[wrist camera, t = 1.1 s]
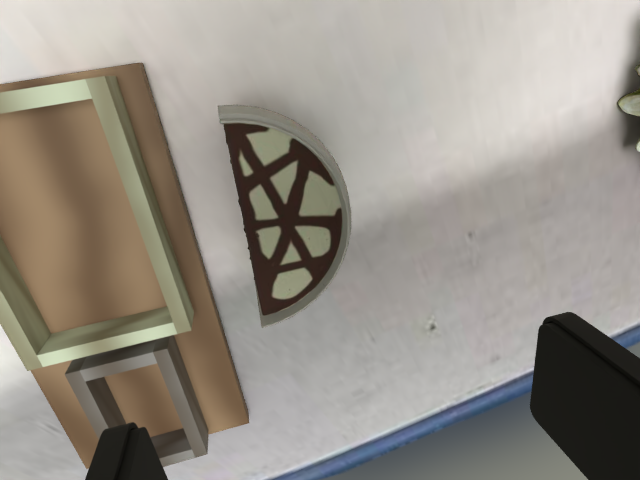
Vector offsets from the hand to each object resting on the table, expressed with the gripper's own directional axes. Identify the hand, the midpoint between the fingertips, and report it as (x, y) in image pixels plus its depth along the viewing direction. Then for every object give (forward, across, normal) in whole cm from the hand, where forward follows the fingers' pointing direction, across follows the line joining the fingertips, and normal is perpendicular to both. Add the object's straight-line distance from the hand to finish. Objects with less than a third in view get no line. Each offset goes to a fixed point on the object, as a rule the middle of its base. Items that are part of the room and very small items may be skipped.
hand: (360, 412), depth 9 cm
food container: (+23, -1, 0) cm, 23 cm away
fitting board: (+22, +13, +6) cm, 27 cm away
